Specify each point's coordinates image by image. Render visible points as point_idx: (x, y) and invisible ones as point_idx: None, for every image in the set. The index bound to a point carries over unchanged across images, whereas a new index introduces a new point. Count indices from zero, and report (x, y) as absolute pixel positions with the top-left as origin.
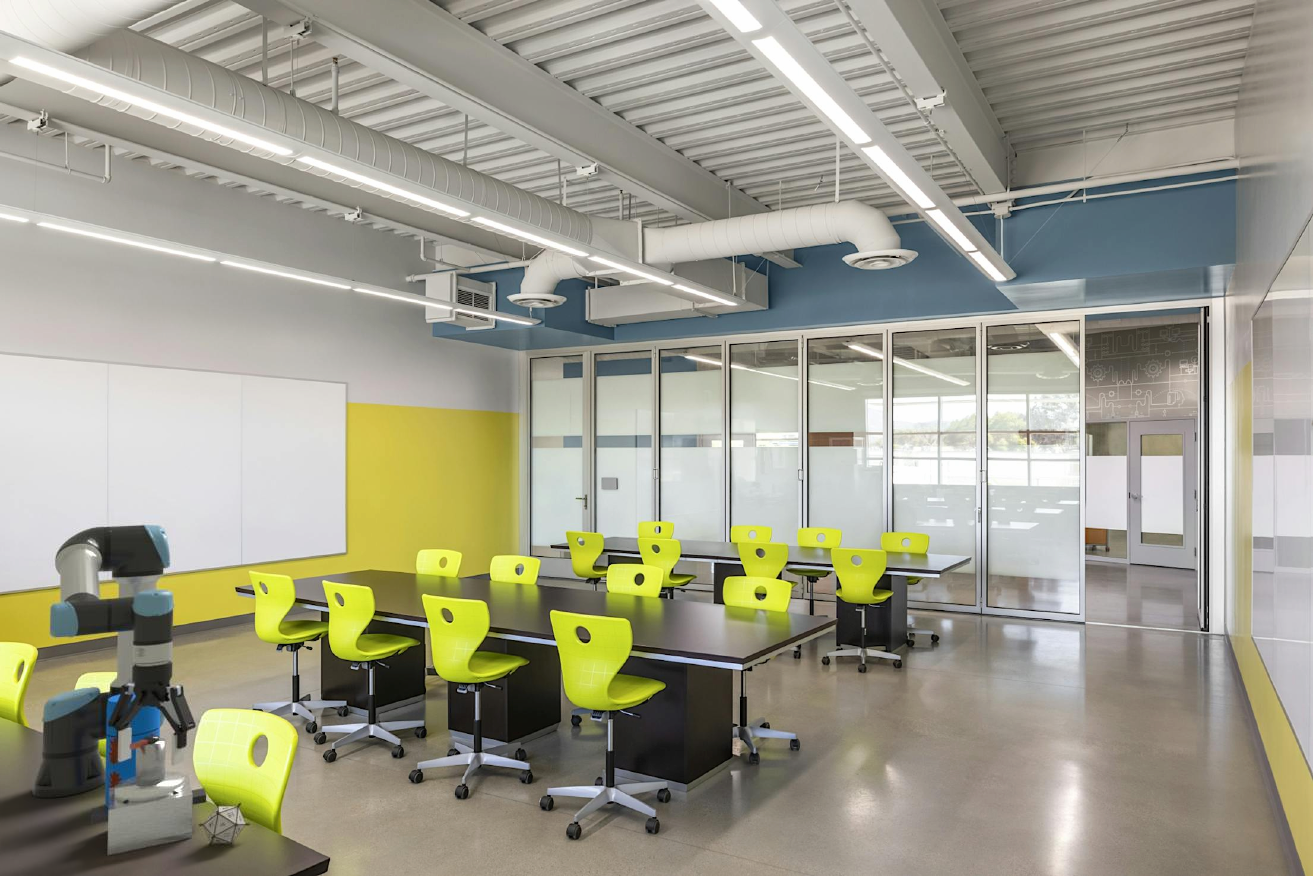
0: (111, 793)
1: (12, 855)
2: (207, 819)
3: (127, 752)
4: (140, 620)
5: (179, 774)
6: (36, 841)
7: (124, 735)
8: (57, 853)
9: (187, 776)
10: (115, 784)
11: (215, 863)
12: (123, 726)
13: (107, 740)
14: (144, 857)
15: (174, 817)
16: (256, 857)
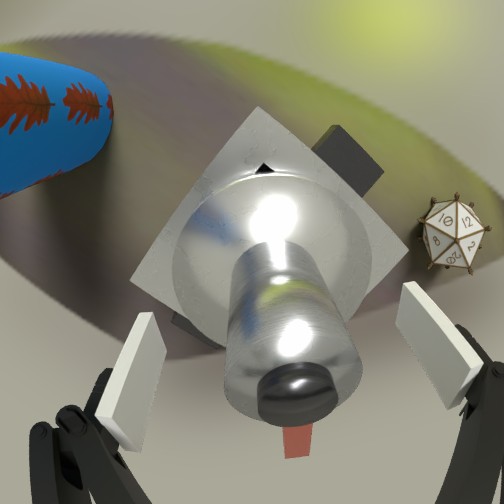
0: (177, 307)
1: (124, 343)
2: (440, 259)
3: (150, 345)
4: None
5: (316, 197)
6: (98, 303)
7: (138, 422)
8: (178, 327)
9: (277, 124)
10: (47, 179)
11: (450, 276)
12: (109, 450)
13: None
14: None
15: None
16: (484, 246)
